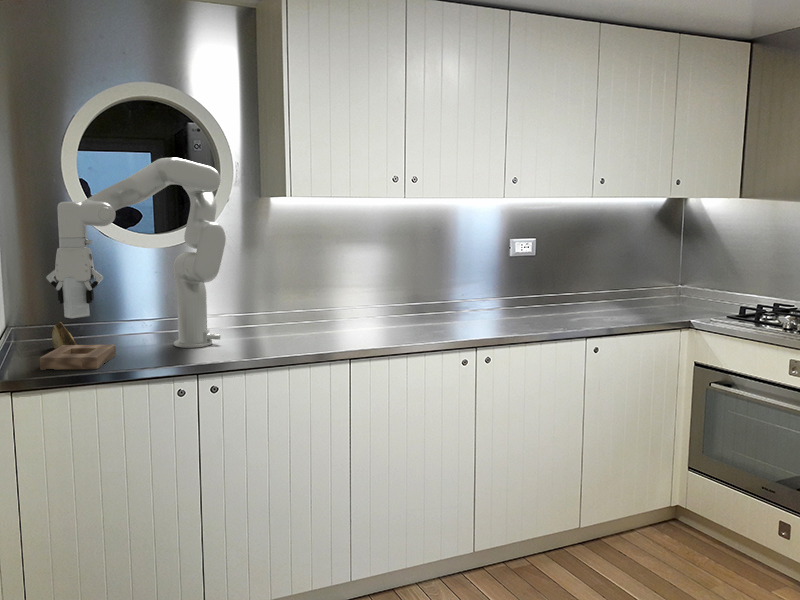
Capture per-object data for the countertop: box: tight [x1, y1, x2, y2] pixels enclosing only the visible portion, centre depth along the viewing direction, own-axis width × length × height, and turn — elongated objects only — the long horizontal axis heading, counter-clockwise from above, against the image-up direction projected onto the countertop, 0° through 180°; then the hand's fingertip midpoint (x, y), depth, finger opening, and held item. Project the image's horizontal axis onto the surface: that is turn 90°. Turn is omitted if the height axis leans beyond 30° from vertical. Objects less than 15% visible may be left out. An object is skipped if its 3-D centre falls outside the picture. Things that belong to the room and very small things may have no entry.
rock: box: [51, 321, 78, 349], centre depth 233 cm, size 11×9×10 cm
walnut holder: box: [39, 344, 117, 371], centre depth 215 cm, size 16×18×4 cm
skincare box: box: [62, 278, 91, 319], centre depth 212 cm, size 6×4×12 cm
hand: (76, 302), depth 213 cm, fingers closed on skincare box, 7 cm apart
